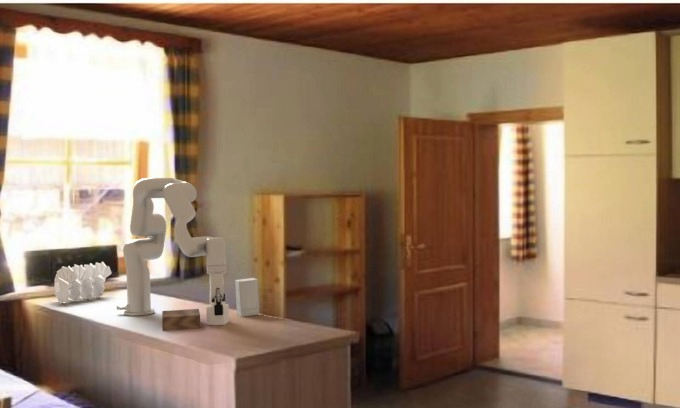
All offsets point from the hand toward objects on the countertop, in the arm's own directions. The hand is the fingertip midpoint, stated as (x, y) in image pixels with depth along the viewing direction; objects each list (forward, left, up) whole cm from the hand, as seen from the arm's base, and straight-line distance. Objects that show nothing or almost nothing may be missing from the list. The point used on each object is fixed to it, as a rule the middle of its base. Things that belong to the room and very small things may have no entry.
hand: (217, 313), depth 285 cm
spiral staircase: (-60, +81, -4) cm, 101 cm away
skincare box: (+13, +14, -4) cm, 20 cm away
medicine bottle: (0, 0, -4) cm, 4 cm away
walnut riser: (-14, 0, -4) cm, 15 cm away
